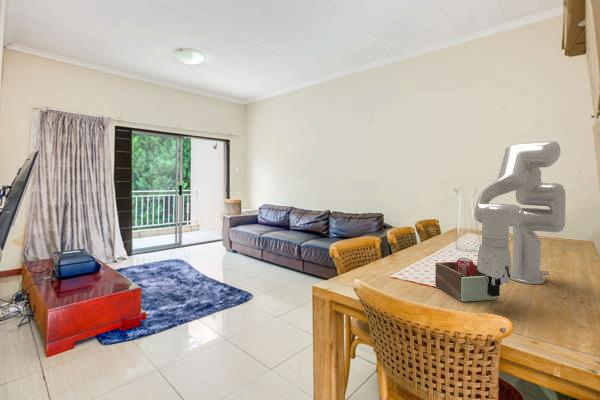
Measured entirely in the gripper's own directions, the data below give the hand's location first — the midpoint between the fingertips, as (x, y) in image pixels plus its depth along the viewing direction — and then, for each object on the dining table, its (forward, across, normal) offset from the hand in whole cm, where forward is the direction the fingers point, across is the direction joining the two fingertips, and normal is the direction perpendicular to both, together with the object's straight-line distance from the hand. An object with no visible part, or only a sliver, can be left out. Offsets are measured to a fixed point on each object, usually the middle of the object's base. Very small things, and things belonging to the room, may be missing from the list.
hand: (493, 295), depth 96 cm
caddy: (+5, -14, 0) cm, 15 cm away
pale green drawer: (+5, -14, 0) cm, 15 cm away
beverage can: (+4, -15, 0) cm, 15 cm away
